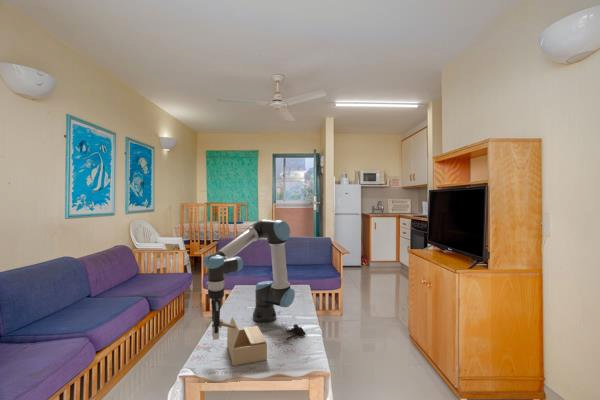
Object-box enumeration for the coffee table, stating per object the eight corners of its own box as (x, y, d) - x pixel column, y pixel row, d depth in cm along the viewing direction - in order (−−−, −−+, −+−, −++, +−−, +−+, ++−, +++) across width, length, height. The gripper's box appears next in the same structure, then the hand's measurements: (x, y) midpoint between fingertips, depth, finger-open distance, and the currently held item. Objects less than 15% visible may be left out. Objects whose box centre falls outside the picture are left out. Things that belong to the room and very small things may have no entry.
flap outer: (227, 330, 160) (210, 326, 157) (233, 316, 161) (215, 312, 158) (233, 347, 143) (213, 343, 139) (239, 331, 143) (219, 327, 140)
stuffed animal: (306, 327, 183) (305, 323, 173) (305, 345, 178) (304, 342, 168) (287, 326, 184) (284, 321, 174) (285, 344, 179) (282, 340, 169)
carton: (227, 346, 161) (227, 329, 161) (257, 341, 166) (257, 325, 166) (233, 366, 142) (233, 347, 142) (266, 360, 148) (267, 341, 148)
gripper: (206, 285, 155) (206, 331, 155) (209, 294, 140) (208, 346, 140) (221, 283, 158) (221, 329, 158) (226, 293, 142) (225, 343, 143)
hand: (215, 337), depth 149 cm, fingers closed on flap outer, 3 cm apart
